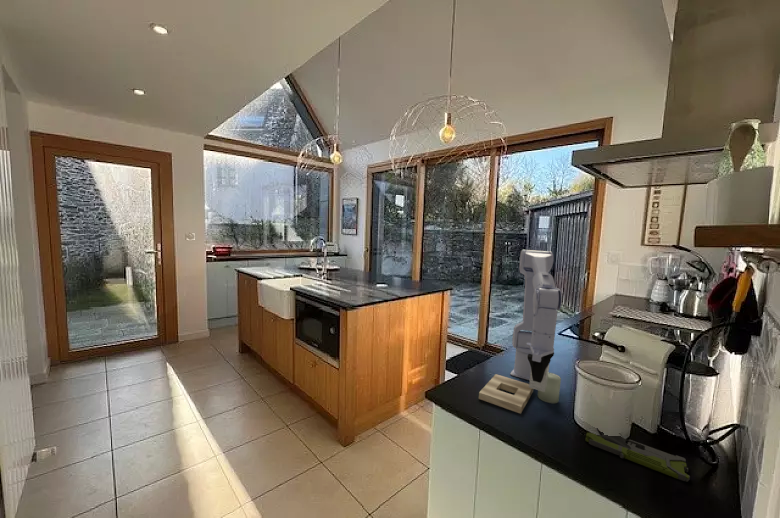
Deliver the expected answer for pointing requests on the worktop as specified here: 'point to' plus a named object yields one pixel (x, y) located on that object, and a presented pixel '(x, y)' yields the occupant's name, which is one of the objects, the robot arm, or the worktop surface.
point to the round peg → (551, 389)
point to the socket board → (504, 399)
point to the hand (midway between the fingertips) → (538, 378)
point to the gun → (641, 454)
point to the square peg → (543, 384)
